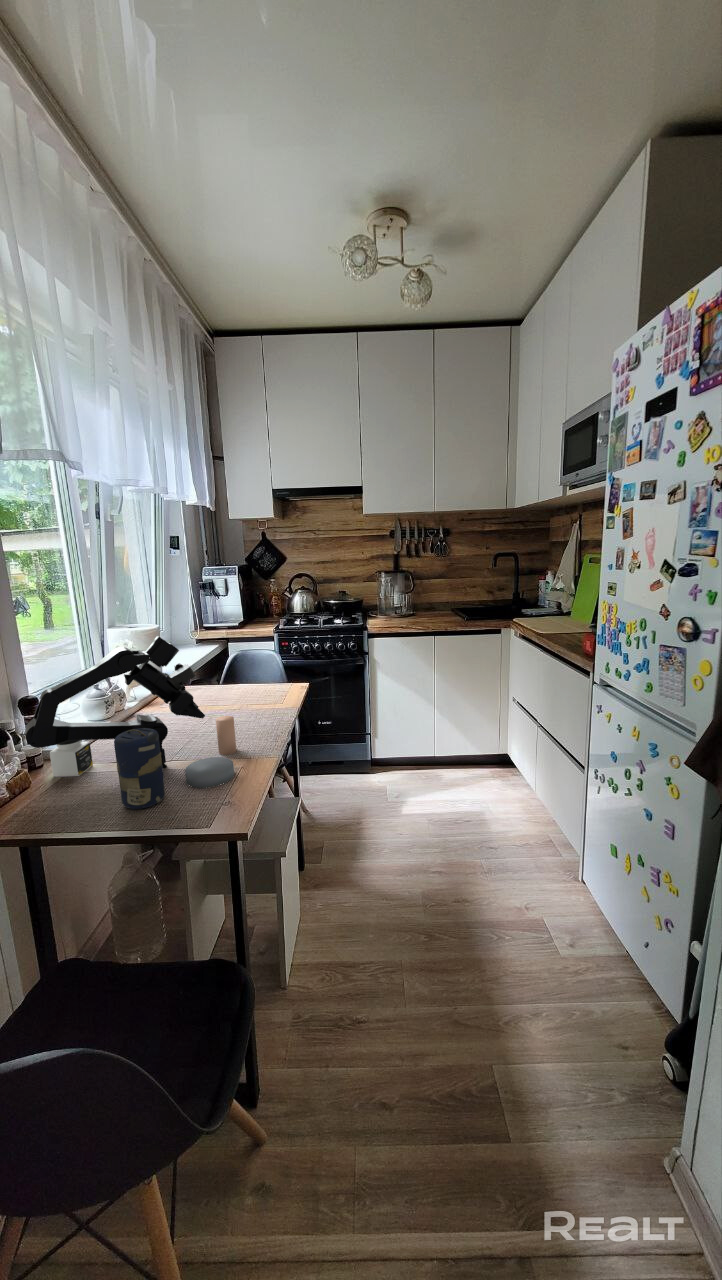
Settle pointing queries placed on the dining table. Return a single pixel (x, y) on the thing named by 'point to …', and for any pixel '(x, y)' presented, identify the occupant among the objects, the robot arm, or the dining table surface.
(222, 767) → the pedestal
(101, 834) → the dining table surface
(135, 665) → the robot arm
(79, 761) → the medicine bottle
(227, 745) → the tan piece
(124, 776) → the canister
